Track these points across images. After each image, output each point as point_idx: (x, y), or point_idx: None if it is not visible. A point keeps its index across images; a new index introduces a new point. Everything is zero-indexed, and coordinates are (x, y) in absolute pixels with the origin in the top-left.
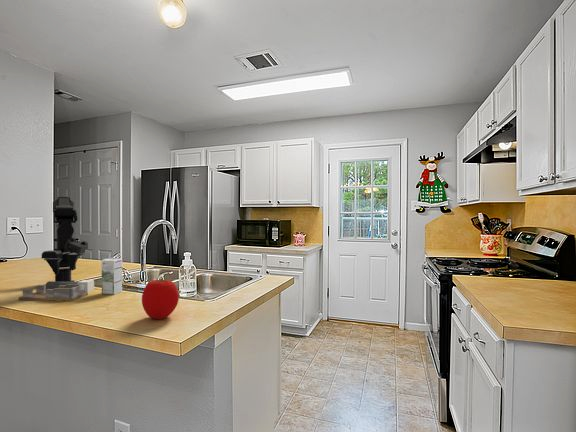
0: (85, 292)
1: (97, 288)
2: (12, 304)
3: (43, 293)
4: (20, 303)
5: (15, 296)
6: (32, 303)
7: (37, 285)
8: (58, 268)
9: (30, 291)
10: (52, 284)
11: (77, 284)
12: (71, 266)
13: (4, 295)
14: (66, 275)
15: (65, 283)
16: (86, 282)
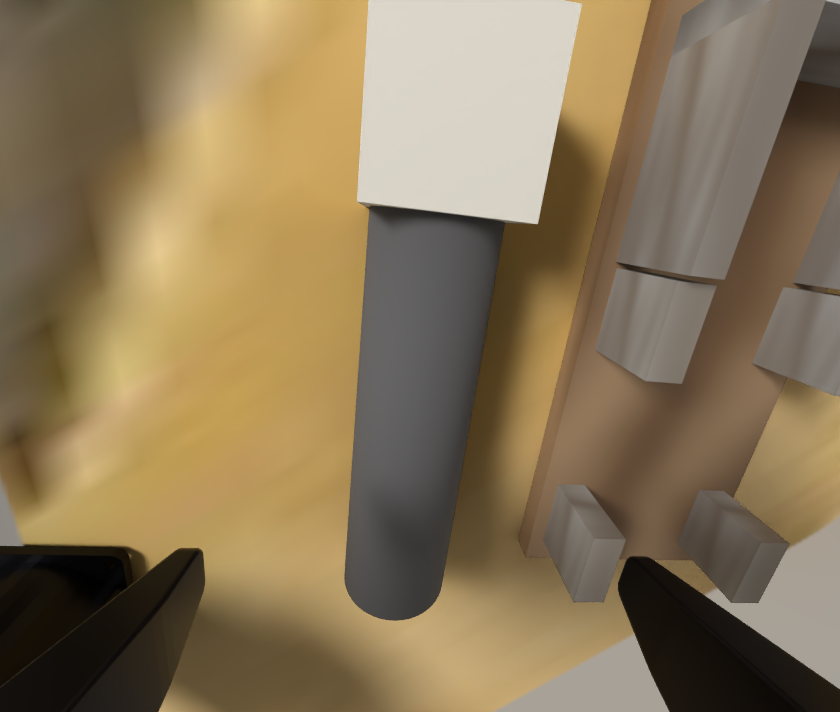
0: (666, 19)
1: (274, 46)
2: (803, 507)
3: (602, 475)
4: (794, 476)
5: (563, 627)
6: (830, 395)
7: (603, 594)
8: (763, 661)
9: (766, 528)
10: (448, 537)
11: (778, 91)
12: (152, 666)
13: (520, 696)
14: (4, 653)
15: (461, 412)
16: (571, 34)
